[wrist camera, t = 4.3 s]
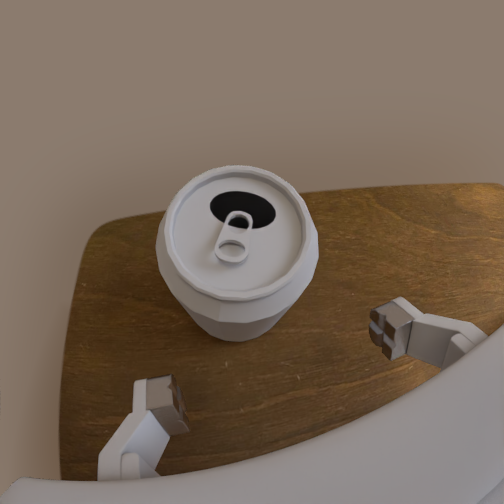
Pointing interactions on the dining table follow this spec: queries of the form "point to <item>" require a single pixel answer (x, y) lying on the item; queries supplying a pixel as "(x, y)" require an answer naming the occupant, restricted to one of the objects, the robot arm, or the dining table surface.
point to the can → (237, 250)
